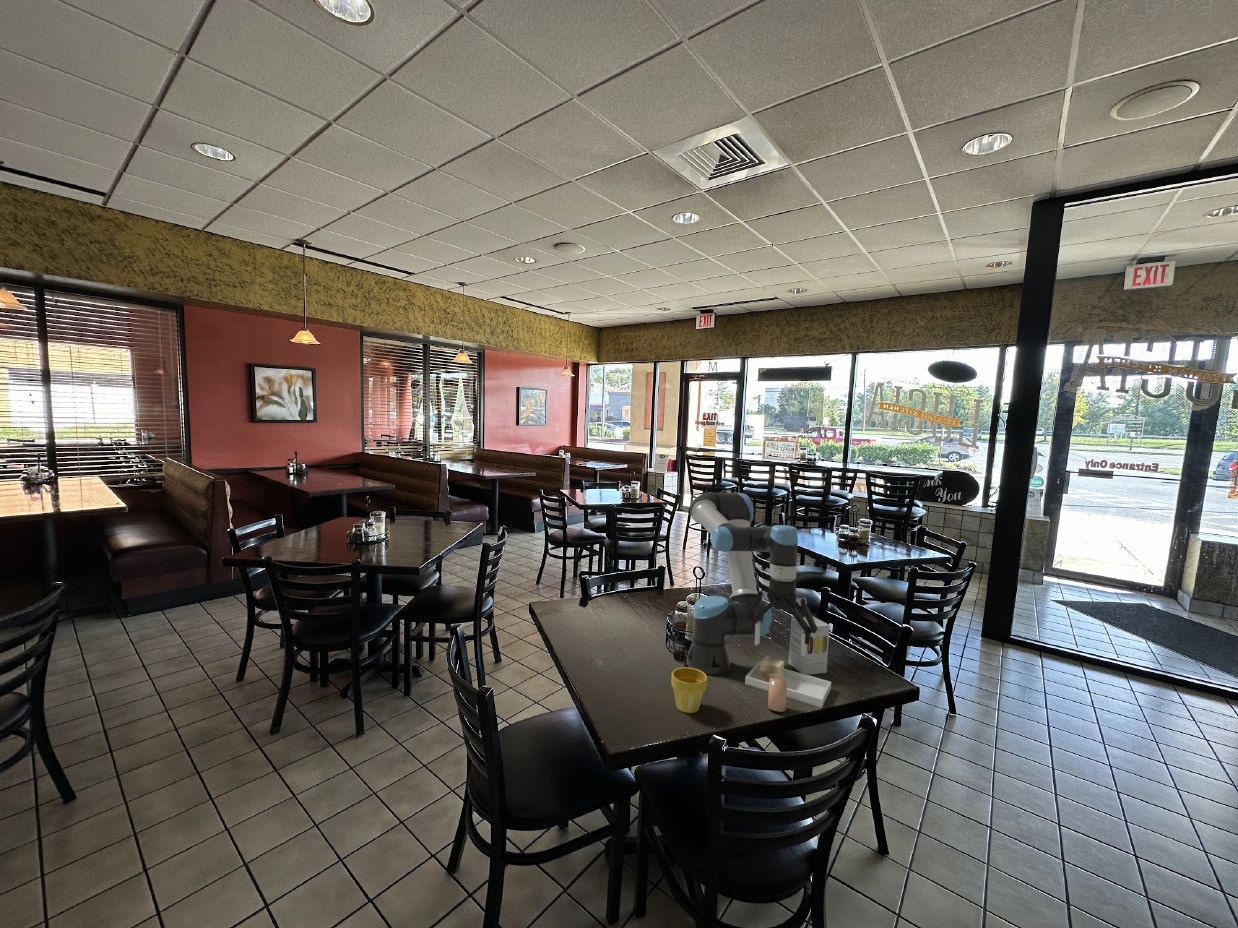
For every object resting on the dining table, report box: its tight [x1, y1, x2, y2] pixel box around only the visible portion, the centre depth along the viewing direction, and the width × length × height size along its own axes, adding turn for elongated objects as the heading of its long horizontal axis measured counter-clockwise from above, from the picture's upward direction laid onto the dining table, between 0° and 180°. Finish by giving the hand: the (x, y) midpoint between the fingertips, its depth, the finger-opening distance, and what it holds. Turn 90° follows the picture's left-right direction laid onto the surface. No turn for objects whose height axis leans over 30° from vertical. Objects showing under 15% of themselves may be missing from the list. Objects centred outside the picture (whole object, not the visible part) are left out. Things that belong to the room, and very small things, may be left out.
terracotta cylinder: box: [767, 678, 787, 713], centre depth 149 cm, size 5×5×8 cm
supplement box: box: [788, 615, 831, 675], centre depth 176 cm, size 10×9×17 cm
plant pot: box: [670, 666, 708, 714], centre depth 149 cm, size 10×10×10 cm
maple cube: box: [760, 655, 785, 683], centre depth 166 cm, size 6×6×6 cm
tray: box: [744, 661, 832, 709], centre depth 163 cm, size 24×14×3 cm, turn 57°
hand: (779, 648), depth 150 cm, fingers open, 13 cm apart
